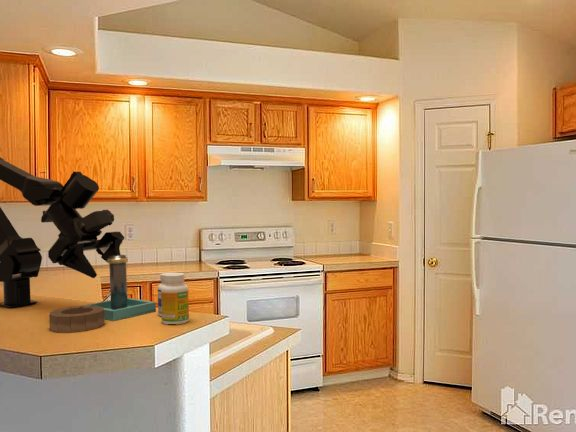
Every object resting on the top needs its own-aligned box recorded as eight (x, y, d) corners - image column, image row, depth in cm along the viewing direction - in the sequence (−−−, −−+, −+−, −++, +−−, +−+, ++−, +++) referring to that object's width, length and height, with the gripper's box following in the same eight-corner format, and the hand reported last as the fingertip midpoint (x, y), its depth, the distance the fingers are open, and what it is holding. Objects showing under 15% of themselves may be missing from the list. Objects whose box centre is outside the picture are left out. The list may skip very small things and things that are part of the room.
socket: (39, 327, 103) (39, 312, 103) (85, 317, 111) (85, 303, 111) (68, 335, 97) (67, 318, 97) (114, 324, 105) (114, 309, 105)
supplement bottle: (180, 325, 103) (179, 276, 102) (156, 324, 104) (155, 275, 104) (193, 319, 108) (192, 272, 107) (170, 318, 110) (169, 271, 109)
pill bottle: (186, 312, 115) (185, 271, 115) (179, 317, 110) (178, 275, 110) (162, 311, 116) (161, 271, 115) (154, 317, 111) (153, 275, 110)
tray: (82, 314, 114) (82, 305, 114) (125, 305, 123) (125, 297, 123) (113, 320, 108) (113, 311, 108) (155, 311, 117) (155, 302, 116)
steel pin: (105, 311, 114) (103, 256, 114) (116, 307, 118) (114, 254, 118) (122, 312, 113) (120, 256, 113) (133, 308, 117) (131, 254, 117)
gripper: (57, 198, 109) (100, 253, 105) (117, 197, 126) (156, 245, 122) (29, 235, 112) (71, 290, 108) (91, 229, 129) (129, 276, 126)
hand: (110, 273), depth 116 cm, fingers open, 9 cm apart
